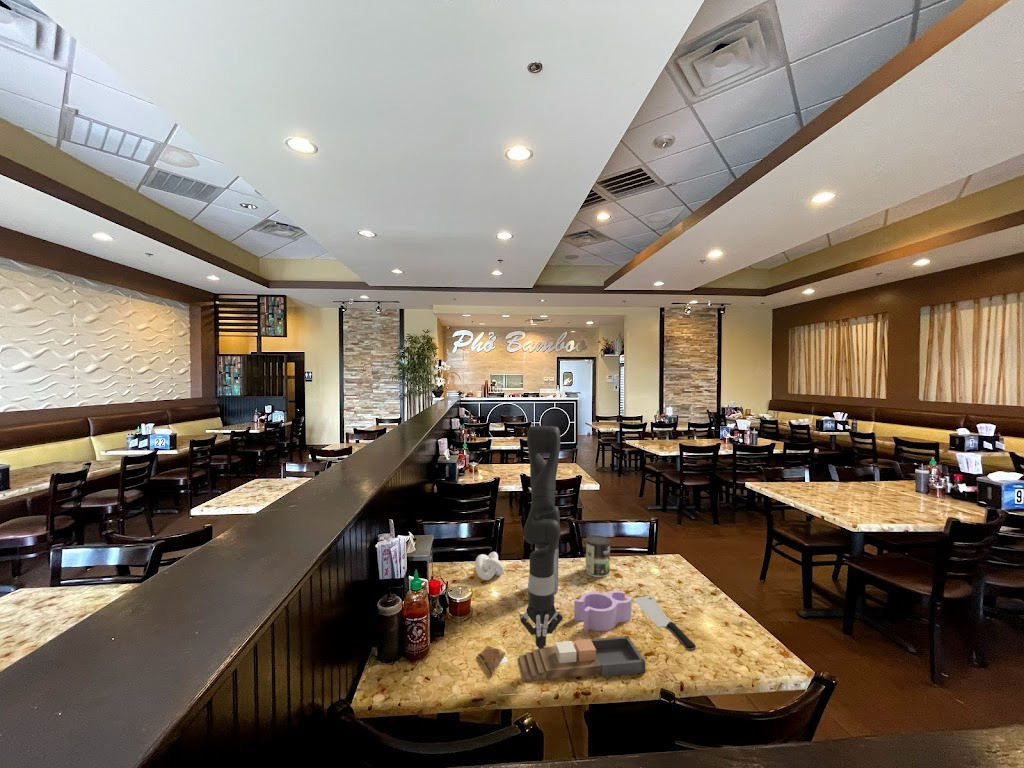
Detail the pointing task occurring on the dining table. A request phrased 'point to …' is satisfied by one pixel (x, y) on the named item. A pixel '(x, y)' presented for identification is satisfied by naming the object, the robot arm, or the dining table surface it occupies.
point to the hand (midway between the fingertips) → (540, 647)
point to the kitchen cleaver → (662, 619)
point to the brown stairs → (532, 666)
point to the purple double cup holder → (602, 610)
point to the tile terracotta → (585, 650)
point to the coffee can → (598, 556)
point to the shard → (491, 658)
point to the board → (567, 666)
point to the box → (618, 656)
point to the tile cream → (565, 651)
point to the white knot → (488, 566)
